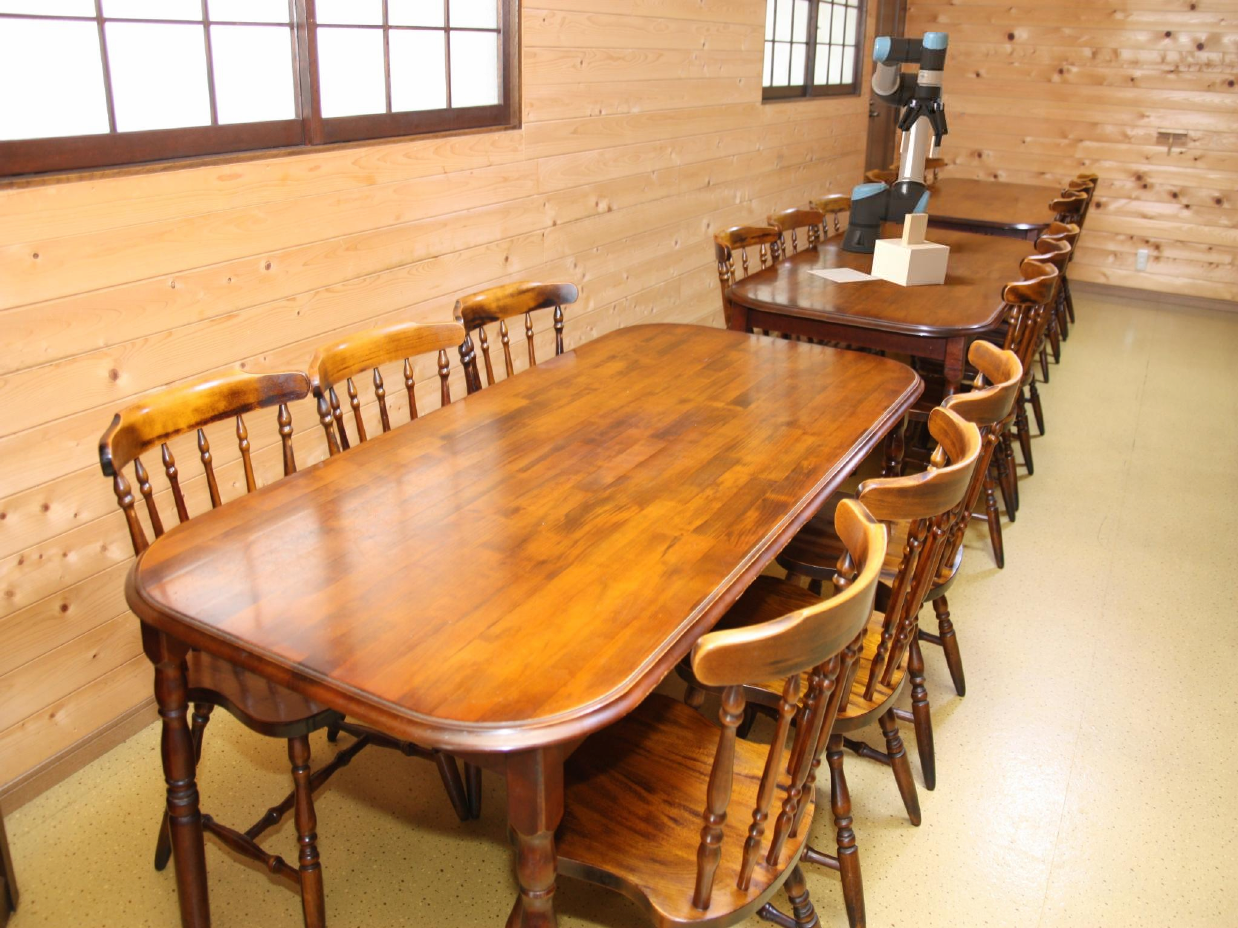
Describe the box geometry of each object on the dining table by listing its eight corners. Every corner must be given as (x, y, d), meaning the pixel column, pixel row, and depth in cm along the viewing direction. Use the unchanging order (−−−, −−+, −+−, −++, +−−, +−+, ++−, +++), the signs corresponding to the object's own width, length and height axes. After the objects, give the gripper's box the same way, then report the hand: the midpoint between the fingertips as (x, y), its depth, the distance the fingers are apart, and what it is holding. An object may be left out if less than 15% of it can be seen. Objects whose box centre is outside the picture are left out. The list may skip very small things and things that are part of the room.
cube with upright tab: (870, 276, 332) (880, 211, 324) (908, 273, 339) (918, 209, 331) (905, 287, 319) (915, 219, 311) (943, 284, 326) (954, 217, 318)
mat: (805, 272, 333) (805, 270, 333) (846, 269, 341) (847, 267, 341) (839, 284, 320) (839, 282, 320) (881, 280, 327) (881, 278, 327)
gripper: (893, 82, 333) (883, 150, 342) (948, 87, 313) (937, 159, 321) (910, 82, 337) (900, 150, 345) (967, 87, 317) (955, 159, 325)
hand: (918, 155), depth 333 cm, fingers open, 13 cm apart
